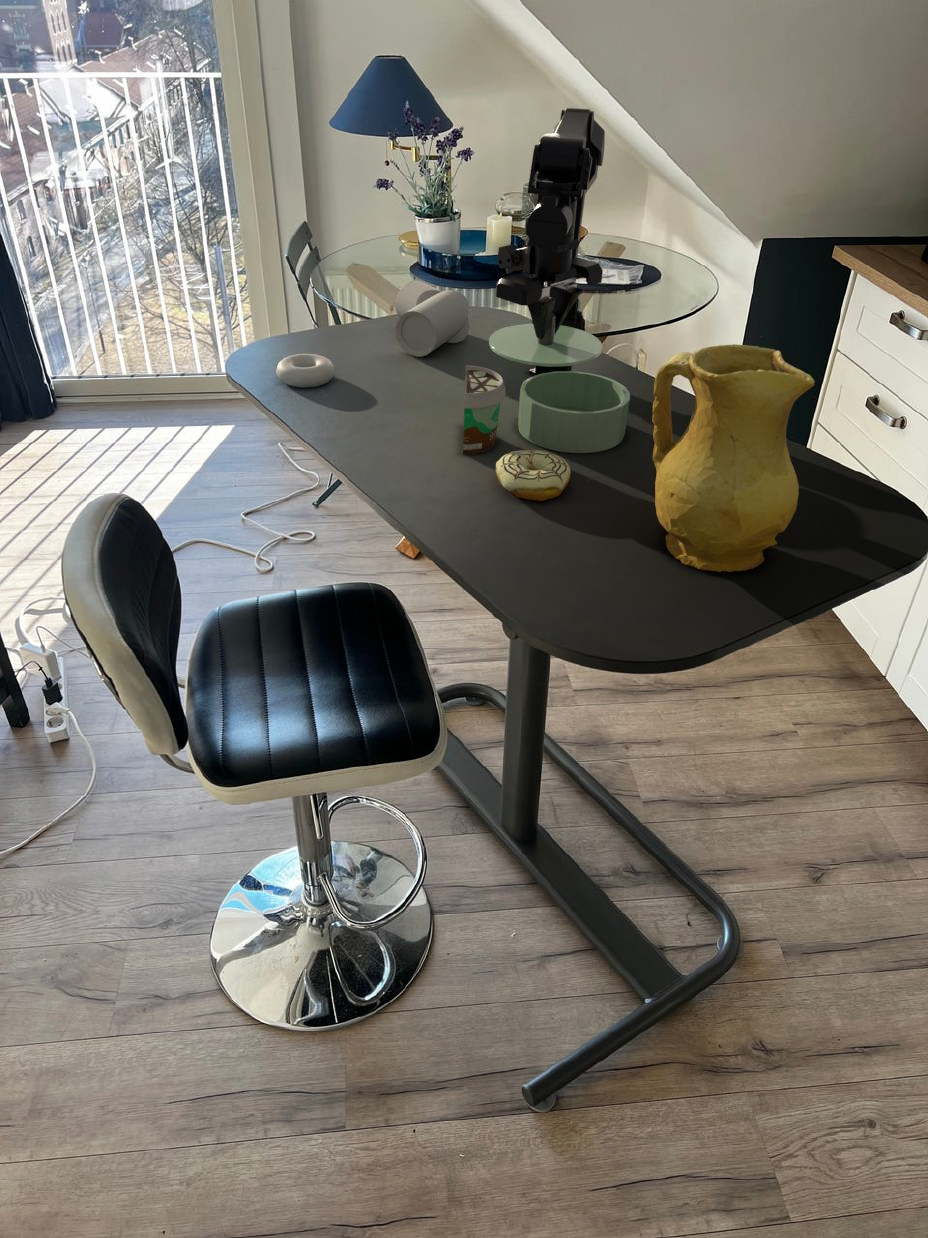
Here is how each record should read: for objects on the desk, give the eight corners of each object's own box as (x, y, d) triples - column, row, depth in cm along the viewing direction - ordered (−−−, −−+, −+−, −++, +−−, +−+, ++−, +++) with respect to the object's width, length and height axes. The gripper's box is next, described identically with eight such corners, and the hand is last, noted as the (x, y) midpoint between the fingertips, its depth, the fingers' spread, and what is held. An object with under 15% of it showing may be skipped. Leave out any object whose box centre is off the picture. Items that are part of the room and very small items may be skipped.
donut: (328, 393, 156) (340, 370, 164) (326, 373, 154) (339, 352, 162) (270, 389, 157) (285, 367, 165) (268, 369, 155) (283, 348, 163)
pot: (565, 400, 157) (569, 363, 153) (645, 432, 147) (652, 394, 143) (496, 426, 147) (498, 388, 143) (577, 463, 137) (581, 422, 133)
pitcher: (699, 594, 109) (741, 388, 95) (616, 527, 123) (642, 339, 110) (811, 570, 115) (865, 373, 101) (720, 509, 129) (757, 329, 116)
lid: (540, 322, 156) (542, 289, 153) (624, 351, 146) (629, 316, 143) (465, 346, 146) (466, 311, 142) (550, 379, 136) (553, 342, 132)
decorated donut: (499, 504, 126) (500, 479, 124) (492, 468, 135) (493, 445, 133) (574, 503, 127) (576, 479, 125) (562, 468, 136) (564, 444, 133)
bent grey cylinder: (497, 339, 177) (438, 311, 189) (490, 286, 169) (430, 261, 182) (422, 376, 170) (367, 344, 183) (412, 323, 163) (355, 293, 176)
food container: (503, 459, 137) (507, 396, 131) (462, 458, 137) (464, 394, 131) (501, 425, 147) (505, 365, 141) (463, 424, 147) (465, 363, 141)
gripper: (554, 212, 145) (546, 311, 155) (471, 230, 135) (468, 335, 144) (610, 226, 139) (598, 328, 148) (527, 246, 128) (520, 355, 138)
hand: (546, 336), depth 145 cm, fingers closed on lid, 3 cm apart
